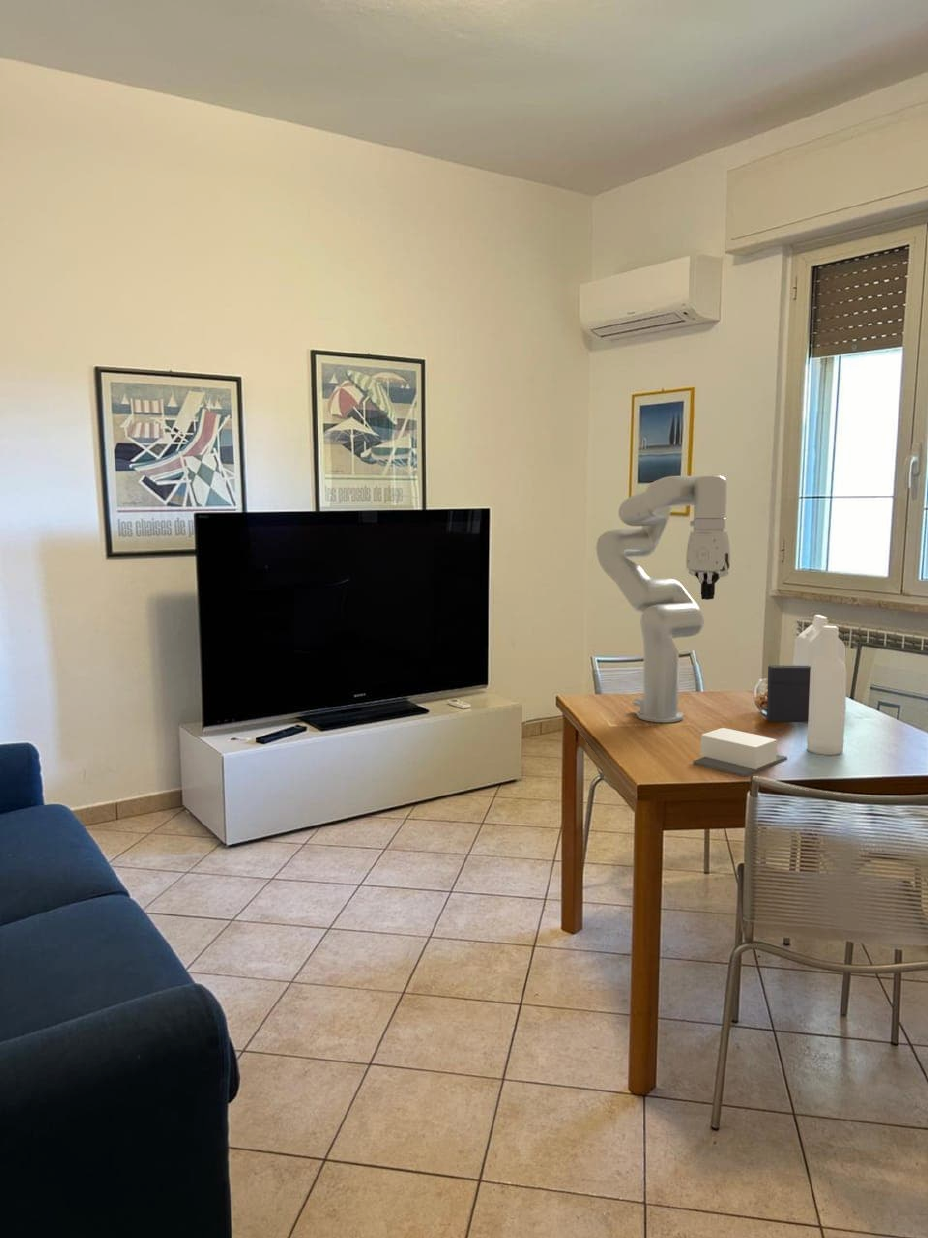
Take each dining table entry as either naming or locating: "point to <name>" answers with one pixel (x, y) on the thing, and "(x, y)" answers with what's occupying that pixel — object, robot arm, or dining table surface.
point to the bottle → (827, 697)
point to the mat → (734, 765)
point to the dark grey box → (788, 693)
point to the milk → (813, 644)
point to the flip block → (739, 748)
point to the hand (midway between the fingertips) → (707, 598)
